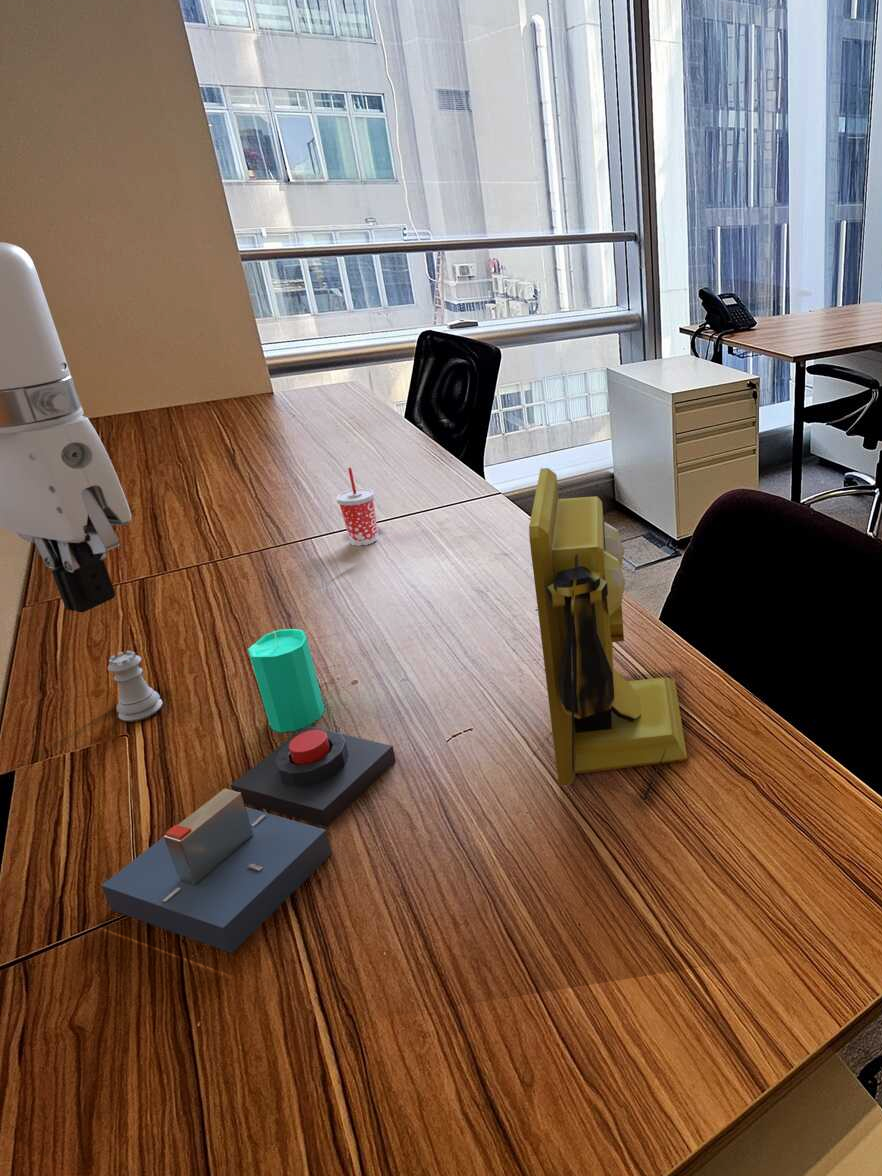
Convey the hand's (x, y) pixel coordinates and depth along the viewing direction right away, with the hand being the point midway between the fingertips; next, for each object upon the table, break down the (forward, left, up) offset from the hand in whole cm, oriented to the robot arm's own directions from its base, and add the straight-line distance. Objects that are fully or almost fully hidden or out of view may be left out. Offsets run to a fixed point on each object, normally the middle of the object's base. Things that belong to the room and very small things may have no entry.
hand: (91, 603), depth 69 cm
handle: (+12, -4, -22) cm, 25 cm away
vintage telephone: (+38, +26, -25) cm, 53 cm away
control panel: (+12, -4, -25) cm, 28 cm away
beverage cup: (-30, +61, -25) cm, 72 cm away
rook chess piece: (-20, +12, -25) cm, 34 cm away
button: (+10, +9, -21) cm, 25 cm away
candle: (-1, +17, -25) cm, 30 cm away
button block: (+10, +9, -25) cm, 28 cm away
